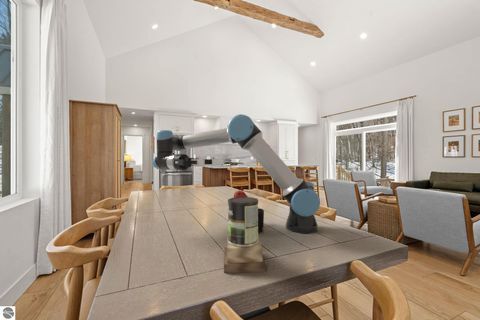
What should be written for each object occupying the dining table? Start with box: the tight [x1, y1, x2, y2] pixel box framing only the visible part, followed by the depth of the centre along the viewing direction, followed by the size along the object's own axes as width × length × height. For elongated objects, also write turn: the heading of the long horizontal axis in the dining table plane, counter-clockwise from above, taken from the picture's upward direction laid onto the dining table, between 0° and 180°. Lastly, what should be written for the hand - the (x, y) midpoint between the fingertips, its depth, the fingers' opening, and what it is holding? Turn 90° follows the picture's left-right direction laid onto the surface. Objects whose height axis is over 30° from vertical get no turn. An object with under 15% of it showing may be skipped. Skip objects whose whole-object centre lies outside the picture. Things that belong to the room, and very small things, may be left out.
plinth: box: [223, 235, 267, 274], centre depth 73 cm, size 13×13×7 cm
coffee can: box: [227, 196, 259, 247], centre depth 73 cm, size 10×10×14 cm
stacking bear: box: [233, 189, 249, 198], centre depth 117 cm, size 11×10×18 cm
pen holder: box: [258, 207, 265, 234], centre depth 105 cm, size 9×9×10 cm
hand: (214, 162), depth 91 cm, fingers open, 13 cm apart
